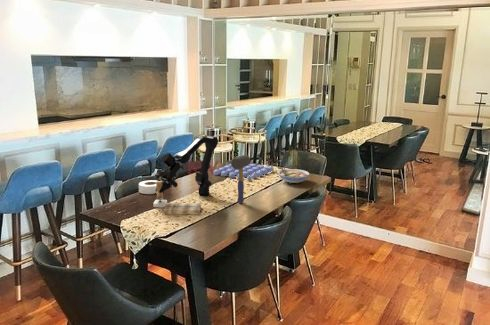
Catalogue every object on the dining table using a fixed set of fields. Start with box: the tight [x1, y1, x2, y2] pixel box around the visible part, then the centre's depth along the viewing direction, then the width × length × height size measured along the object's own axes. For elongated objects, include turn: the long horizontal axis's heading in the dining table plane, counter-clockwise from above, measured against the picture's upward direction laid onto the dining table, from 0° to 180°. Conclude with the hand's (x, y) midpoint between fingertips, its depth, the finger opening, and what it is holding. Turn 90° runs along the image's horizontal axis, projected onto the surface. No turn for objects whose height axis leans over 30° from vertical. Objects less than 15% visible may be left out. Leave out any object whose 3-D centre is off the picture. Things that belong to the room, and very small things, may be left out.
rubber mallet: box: [230, 154, 251, 204], centre depth 245 cm, size 12×8×30 cm, turn 146°
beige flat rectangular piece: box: [163, 202, 202, 215], centre depth 234 cm, size 20×12×3 cm, turn 91°
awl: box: [156, 180, 165, 202], centre depth 241 cm, size 4×4×13 cm
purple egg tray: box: [212, 163, 273, 181], centre depth 318 cm, size 35×34×5 cm
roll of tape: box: [138, 179, 158, 195], centre depth 272 cm, size 16×16×6 cm
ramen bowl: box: [277, 167, 310, 184], centre depth 293 cm, size 25×23×8 cm
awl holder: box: [152, 199, 168, 208], centre depth 243 cm, size 7×7×2 cm
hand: (157, 192), depth 240 cm, fingers closed on awl, 4 cm apart
